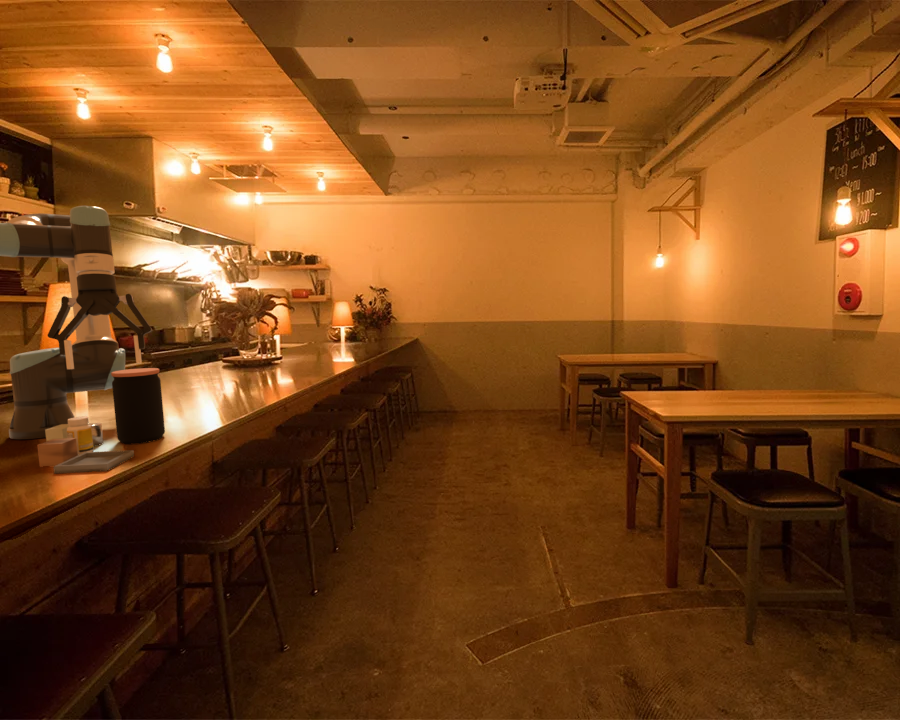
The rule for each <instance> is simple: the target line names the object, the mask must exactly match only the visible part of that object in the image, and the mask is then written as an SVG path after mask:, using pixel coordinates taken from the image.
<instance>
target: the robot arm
mask: <svg viewBox="0 0 900 720" xmlns="http://www.w3.org/2000/svg"><path fill="white" fill-rule="evenodd" d="M69 210H70V211H69V214H56V213H42V212H41V213H28V214H23V215H18V216H15V217H12V218H10V219H9V220H8V221H7V222H0V257H9V258H54V259H56V258H57V259H60V260H61V261H62V262H63V263H64V264H66V265H67V266H68V269H67V270H68V277H69V286H70V294H71V297H68V296H65V295H63V296H62V297H61V302H60V303H61V306H60V309H59V310H58V312H57V314H56V316H55V318H54V320H53V322H52V324H51V327H50V328H49V331H48V333H47V337H48V338H50V339H54V340H57V341H58V347H51V348H49V347H48V348H44V349H43V348H42V349H39V350H38V349H36V350H32V351H31V350H30V351H27V352H22V353H21V352H20V353H18V354H17V353H16V354H15V355H12V356H11V357H10V359H9V374H10V376H11V377H10V379H11V385H12V396H13V405H14V410H13V414H12V418H11V421H10V425H9V428H8V434H9V435H8V437H9V438H10V439H11V440H34V439H43V438H46V433H45V430H46V429H49V428H52V427H55V426H58V425H61V424H68V419H70V418H74V417H75V415H74V413H73V411H72V409H71V407H70V405H69V403H68V396H67V394H72V393H82V392H90V391H91V392H92V391H93V392H94V391H101V390H102V391H103V390H104V391H107V390H110V389H113V388H112V382H113V380H114V378H113V376H112V375H111V373H112V372H114V371H120V370H126V349H124V348H122V347H120V348H119V343H118V341H117V340H115V339H114V338H112V331H111V324H110V322H111V321H110V317H109V315H110V314H111V315H112V314H113V315H115V316H116V317H117V318H118V319H119V320H121V322H123V323H124V324H125V325H126V326H128V327H129V329H131V330H132V331H133V332H135V334H136V335H133V343H134V353H135V363H136V364H142V362H143V360H142V352H141V350H145V349H146V340H145V336H146V334H149V333H153V329H152V327H151V326H150V323H148V321H147V319H146V318H145V317H144V315H143V314H142V312H141V311H140V310H139V308H138V307H137V306H136V303H135V300H134V297H133V295H132V294H130V293H126V294H125V295H118V289H117V281H116V280H117V279H116V276H114V274H115V272H116V271H115V260H114V255H113V248H112V235H111V222H110V218H109V213H108V212H107V210H105V209H104V208H102V207H99V206H92V205H78V206H74V207H72V208H70V209H69ZM120 302H123V304H124V305H127V306H128V307H129V309H130V311H131V312H132V313H133V315H134V316H135V318H136V319H137V320H138V322H139V323H140V324H141V326H142V327H143V328H140V327H139V325H137V324H135V322H133V321H132V320H131V319H129V317H128V316H126V315H125V314H124V313H123V312H122V311H121V310H119V309H118V308H117V306H119V304H120ZM71 308H72V310H73V318H72V319H71V320H70V322H69V323H68V324H67V325H66V326H65V328H64V329H63V330H62V328H63V325H64V323H65V321H66V319H67V317H68V315H69V312H70V310H71ZM61 330H62V331H61ZM74 332H75V335H76V336H75V338H76V340H75V342H73V343H72V340H69V337H71V335H72V334H73V333H74Z"/></svg>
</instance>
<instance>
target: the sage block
mask: <svg viewBox="0 0 900 720" xmlns="http://www.w3.org/2000/svg"><path fill="white" fill-rule="evenodd" d="M68 427H69V425H68V424H61V425H58V426H55V427H52V428H49V429H46V430H45V433H46V437H45V442H46V441H49V440H52V439H65V438H68V437H67V428H68Z"/></svg>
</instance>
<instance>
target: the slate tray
mask: <svg viewBox="0 0 900 720" xmlns="http://www.w3.org/2000/svg"><path fill="white" fill-rule="evenodd" d="M133 456H134V457H135V451H134V450H133V449H131V450H109V451H108V450H105V451H92V452H85V453H82V454H80V455H78V456H76V457H74V458H71V459H69V460H67V461H65V462H63V463H60V464H58V465H56V466H53V474H54V475H55V474H72V473H73V474H74V473H76V472H77V473H93V472H92V471H97V472H108V471H107V470H109V469H110V470H112V469H114V468H116V467H117V465H118V466H120V465H121V464H123V463H125V462H127V461H128V459H129V460H130V458H131V457H132V458H134V457H133ZM132 458H131V459H132ZM126 460H127V461H126ZM124 461H125V462H124ZM122 462H123V463H122ZM120 463H121V464H120ZM119 464H120V465H119ZM115 466H116V467H115ZM113 467H114V468H113ZM111 468H112V469H111ZM110 470H109V471H110Z"/></svg>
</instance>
